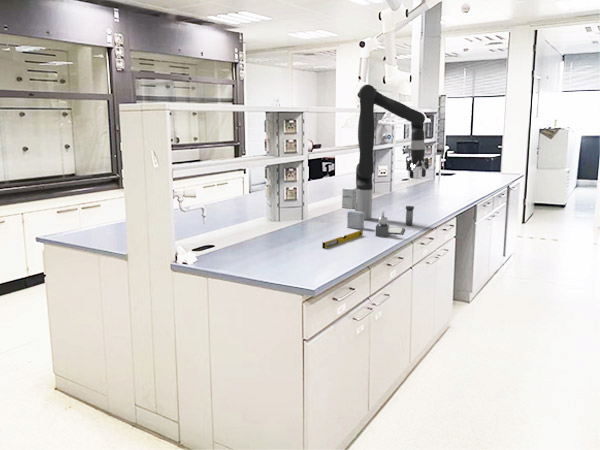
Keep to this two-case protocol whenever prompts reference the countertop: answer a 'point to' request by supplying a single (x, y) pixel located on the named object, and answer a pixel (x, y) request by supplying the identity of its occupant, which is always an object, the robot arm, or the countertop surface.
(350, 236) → the spirit level
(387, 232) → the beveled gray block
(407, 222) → the salt shaker
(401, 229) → the mat
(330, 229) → the countertop surface
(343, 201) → the supplement box
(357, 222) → the medicine box
